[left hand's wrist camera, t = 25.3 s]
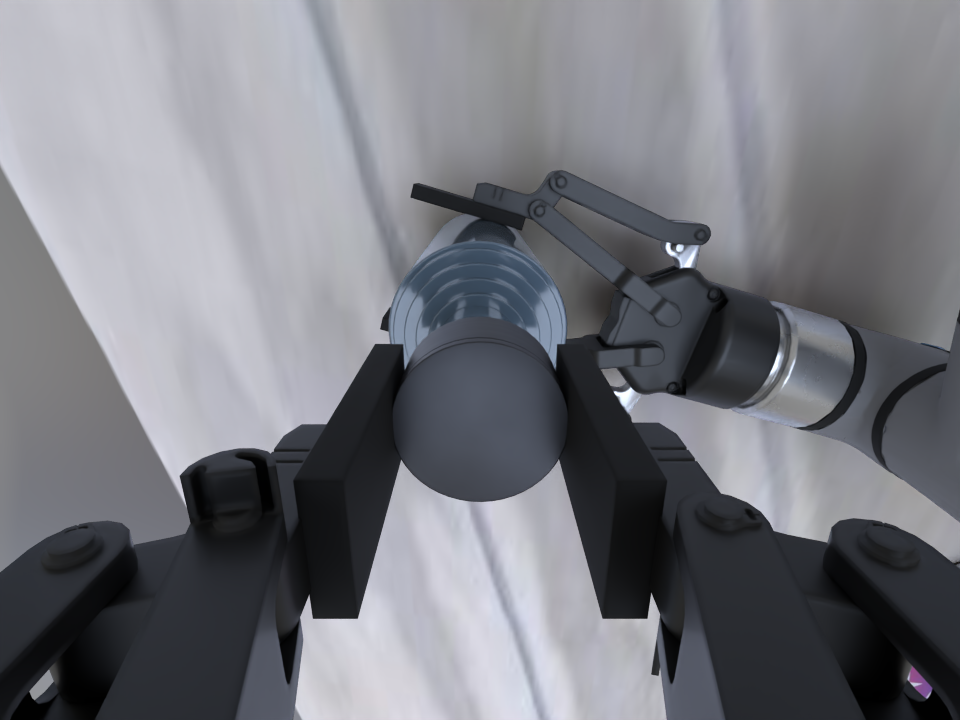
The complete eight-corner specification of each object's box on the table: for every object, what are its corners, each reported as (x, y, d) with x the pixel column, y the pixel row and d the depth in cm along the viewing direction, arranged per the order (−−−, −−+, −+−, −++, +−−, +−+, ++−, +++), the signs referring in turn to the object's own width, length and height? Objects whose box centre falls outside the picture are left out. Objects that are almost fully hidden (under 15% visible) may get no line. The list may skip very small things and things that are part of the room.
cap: (587, 402, 14) (604, 439, 12) (468, 483, 15) (466, 530, 13) (493, 283, 13) (495, 304, 11) (371, 378, 14) (352, 413, 12)
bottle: (486, 330, 39) (494, 503, 18) (408, 271, 38) (323, 388, 17) (548, 254, 37) (636, 352, 16) (469, 189, 36) (456, 207, 15)
